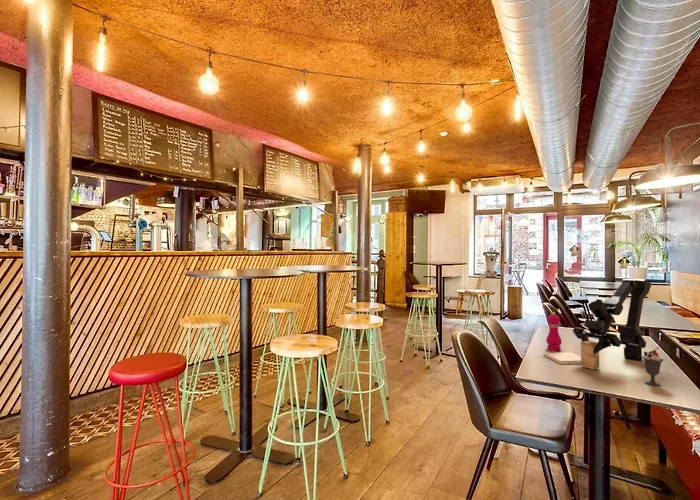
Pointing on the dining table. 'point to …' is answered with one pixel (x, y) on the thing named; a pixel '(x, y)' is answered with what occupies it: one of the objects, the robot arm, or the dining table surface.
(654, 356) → the sundae
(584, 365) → the oak block
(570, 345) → the dining table surface
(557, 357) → the plate
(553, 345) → the pepper mill
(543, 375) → the dining table surface
